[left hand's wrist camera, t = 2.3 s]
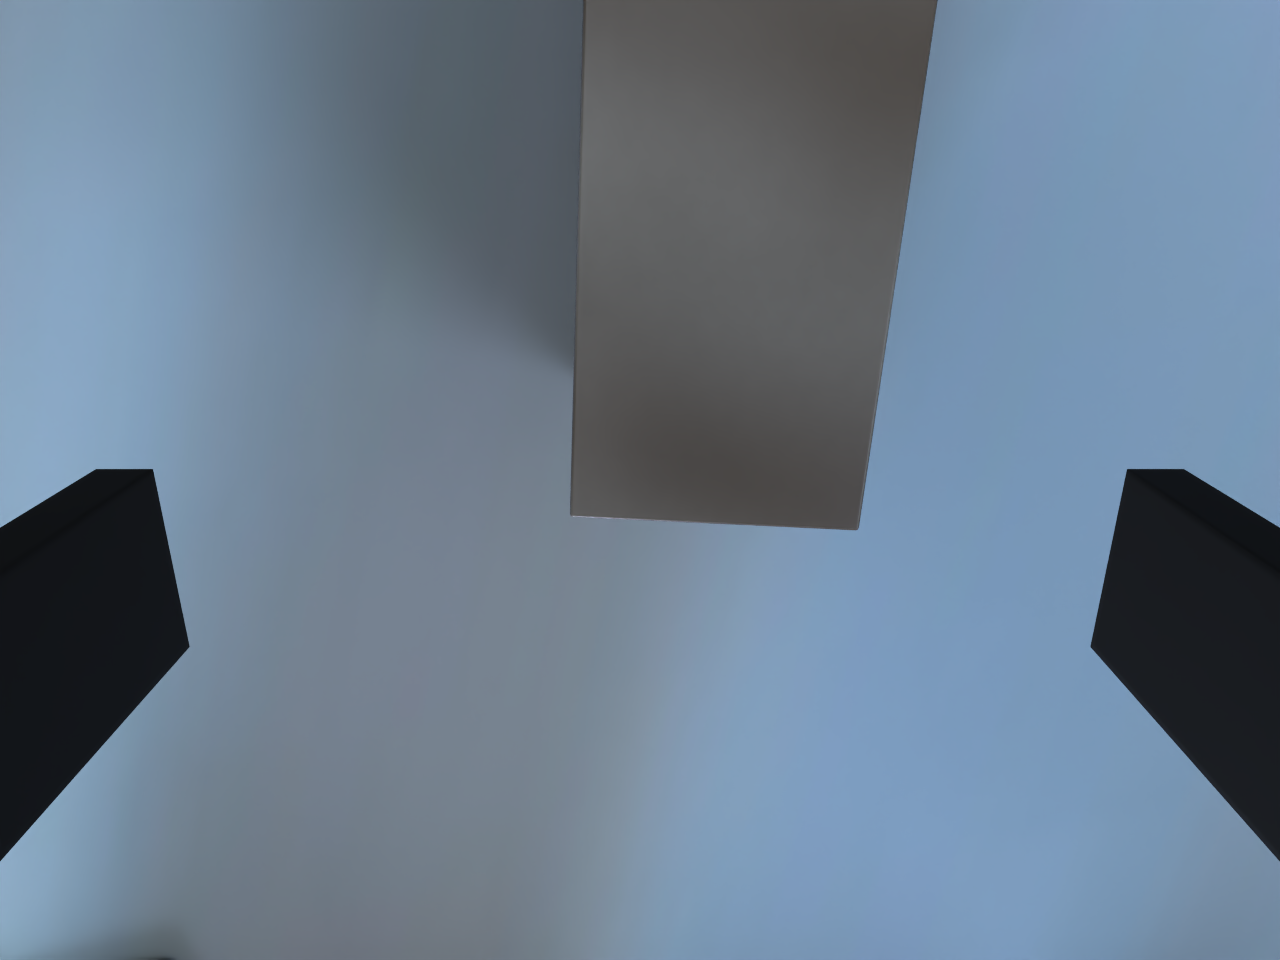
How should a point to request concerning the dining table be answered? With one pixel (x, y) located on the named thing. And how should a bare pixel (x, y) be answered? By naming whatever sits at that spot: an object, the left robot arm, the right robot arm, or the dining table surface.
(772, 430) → the grey rectangular box
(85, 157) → the dining table surface
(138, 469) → the left robot arm
